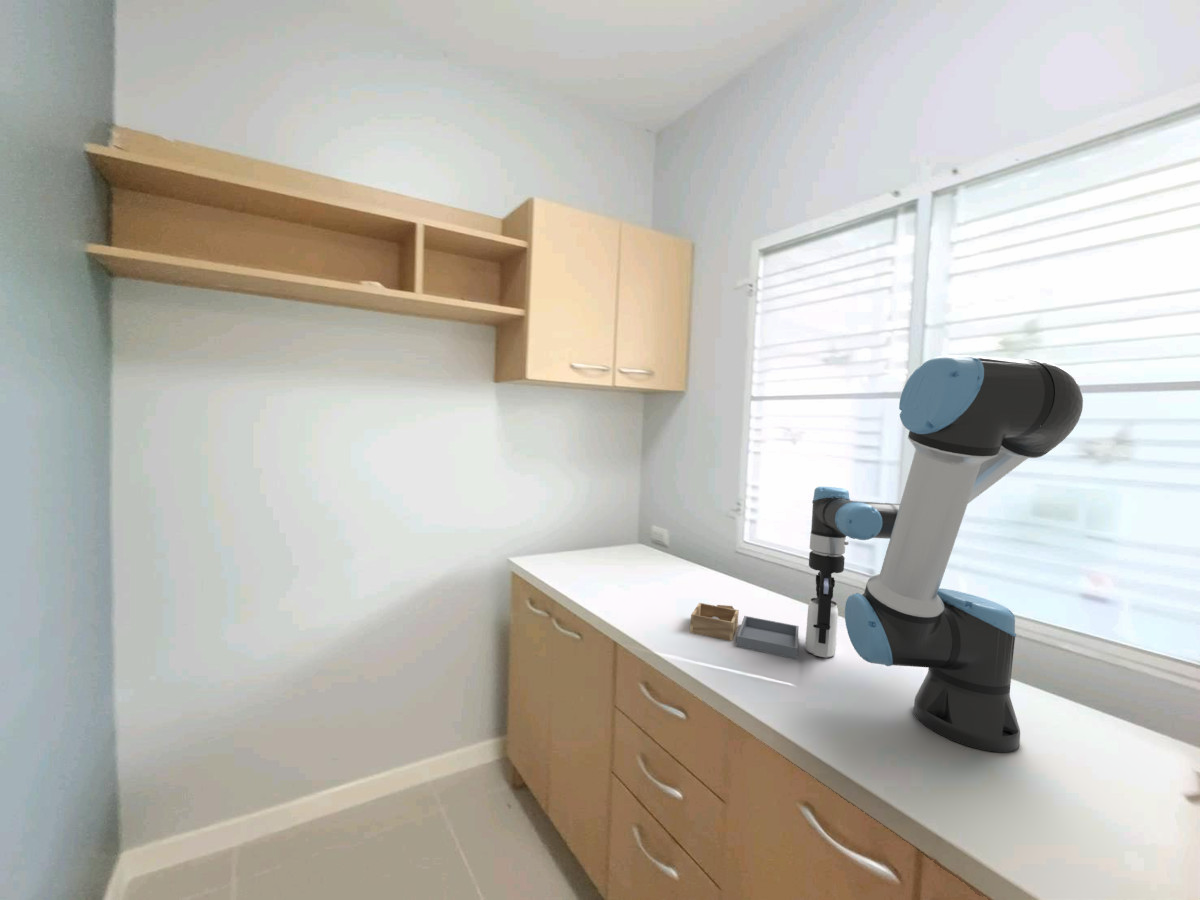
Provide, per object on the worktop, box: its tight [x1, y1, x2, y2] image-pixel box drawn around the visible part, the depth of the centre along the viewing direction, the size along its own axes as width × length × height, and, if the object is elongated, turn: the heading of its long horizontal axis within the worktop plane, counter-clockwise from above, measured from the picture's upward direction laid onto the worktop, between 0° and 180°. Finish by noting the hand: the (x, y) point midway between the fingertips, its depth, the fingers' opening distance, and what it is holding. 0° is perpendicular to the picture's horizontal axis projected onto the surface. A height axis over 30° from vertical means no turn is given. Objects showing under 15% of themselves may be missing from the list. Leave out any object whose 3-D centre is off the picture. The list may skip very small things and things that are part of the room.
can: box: [805, 597, 839, 658], centre depth 115 cm, size 6×6×12 cm
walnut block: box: [716, 604, 735, 609], centre depth 131 cm, size 4×4×4 cm
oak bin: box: [689, 602, 740, 642], centre depth 124 cm, size 10×10×5 cm
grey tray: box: [735, 615, 799, 660], centre depth 119 cm, size 15×13×3 cm
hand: (820, 650), depth 115 cm, fingers closed on can, 6 cm apart
